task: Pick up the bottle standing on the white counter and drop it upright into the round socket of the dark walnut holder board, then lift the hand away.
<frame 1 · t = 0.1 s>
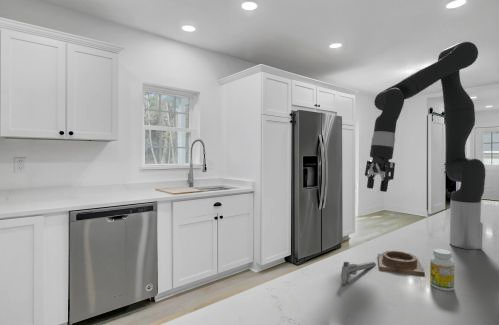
hand: (376, 189, 104), 22 cm above the countertop, fingers open, 8 cm apart
caliper: (360, 275, 86), on the countertop
bottle holder: (399, 265, 92), on the countertop
supplement bottle: (441, 287, 77), on the countertop
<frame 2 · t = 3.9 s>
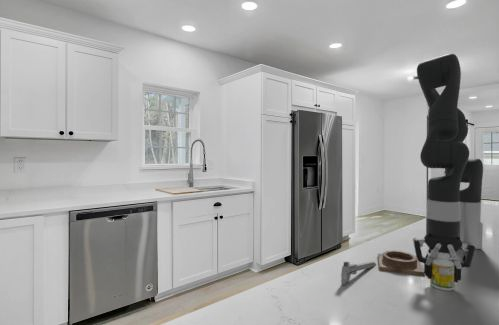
hand: (441, 279, 77), 2 cm above the countertop, fingers closed on supplement bottle, 5 cm apart
supplement bottle: (441, 287, 77), on the countertop, touching gripper
everything else where it was.
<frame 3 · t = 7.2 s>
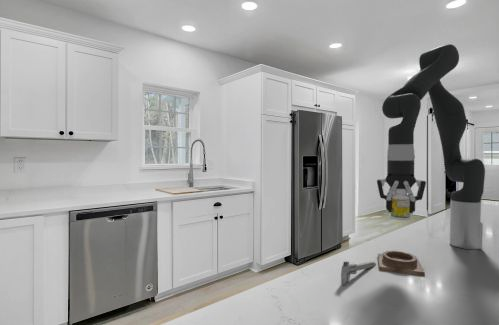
hand: (400, 212, 91), 17 cm above the countertop, fingers closed on supplement bottle, 5 cm apart
supplement bottle: (400, 219, 91), point 15 cm above the countertop, touching gripper
everything else where it was.
when the fingers open (5 cm above the countertop, at t = 10.3 s): supplement bottle drops 1 cm, resting on bottle holder.
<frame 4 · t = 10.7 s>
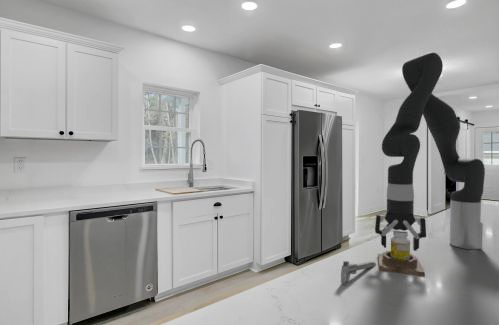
hand: (399, 248, 91), 5 cm above the countertop, fingers open, 8 cm apart
supplement bottle: (400, 261, 92), point 1 cm above the countertop, touching bottle holder
everything else where it was.
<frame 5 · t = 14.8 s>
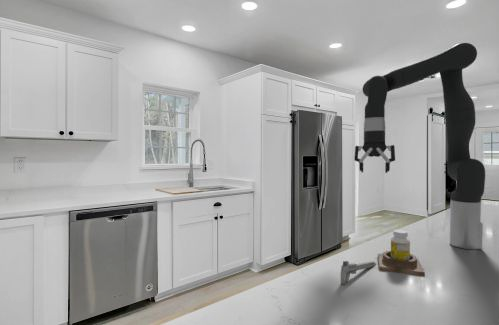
hand: (374, 172, 111), 28 cm above the countertop, fingers open, 8 cm apart
nothing on the countertop moved.
at the end: supplement bottle 0.2 cm off-centre on the bottle holder, point 1.1 cm above the bottle holder's base; supplement bottle tilted 0°; the gripper is holding nothing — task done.
